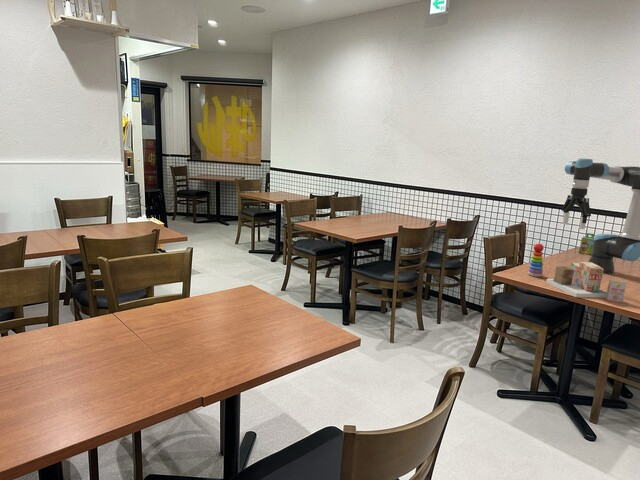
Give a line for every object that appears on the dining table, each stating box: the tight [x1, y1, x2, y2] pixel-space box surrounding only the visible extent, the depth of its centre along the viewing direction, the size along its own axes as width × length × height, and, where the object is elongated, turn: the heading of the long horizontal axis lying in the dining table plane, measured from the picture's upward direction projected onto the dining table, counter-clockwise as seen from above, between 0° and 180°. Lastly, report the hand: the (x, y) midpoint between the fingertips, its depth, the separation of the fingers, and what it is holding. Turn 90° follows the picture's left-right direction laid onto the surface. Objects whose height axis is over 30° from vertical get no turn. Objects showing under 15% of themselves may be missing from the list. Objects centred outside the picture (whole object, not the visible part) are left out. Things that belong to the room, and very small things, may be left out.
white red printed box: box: [605, 279, 627, 304], centre depth 217 cm, size 4×7×10 cm, turn 62°
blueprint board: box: [545, 278, 607, 299], centre depth 232 cm, size 18×24×2 cm
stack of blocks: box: [570, 261, 604, 292], centre depth 232 cm, size 21×6×12 cm, turn 173°
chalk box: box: [578, 232, 595, 256], centre depth 322 cm, size 9×9×15 cm
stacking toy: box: [527, 243, 544, 278], centre depth 254 cm, size 8×8×19 cm
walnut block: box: [553, 265, 574, 284], centre depth 236 cm, size 6×6×8 cm
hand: (573, 226), depth 243 cm, fingers open, 13 cm apart
